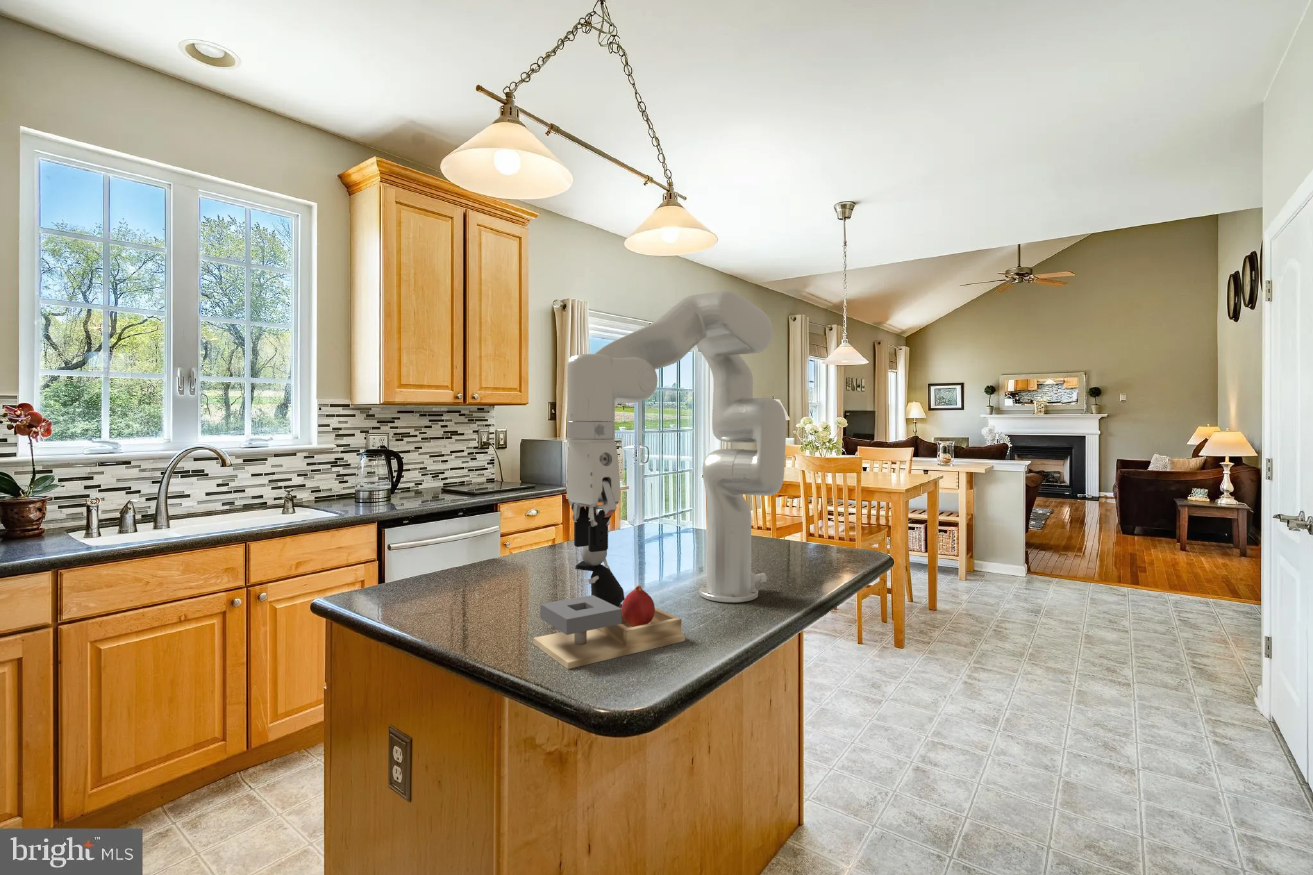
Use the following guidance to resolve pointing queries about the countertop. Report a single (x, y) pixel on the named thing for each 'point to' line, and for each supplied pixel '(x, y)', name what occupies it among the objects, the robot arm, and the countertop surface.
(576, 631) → the gray holed slab
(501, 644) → the countertop surface
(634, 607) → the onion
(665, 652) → the countertop surface
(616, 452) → the robot arm
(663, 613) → the wooden tray
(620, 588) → the toy
